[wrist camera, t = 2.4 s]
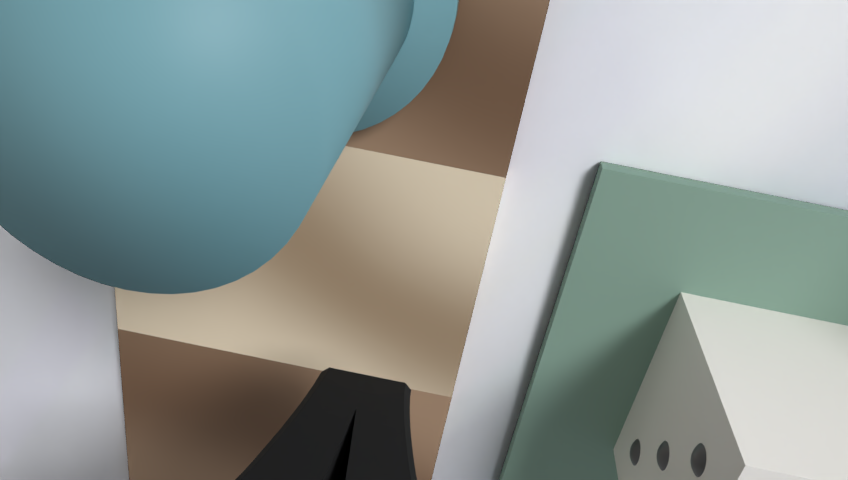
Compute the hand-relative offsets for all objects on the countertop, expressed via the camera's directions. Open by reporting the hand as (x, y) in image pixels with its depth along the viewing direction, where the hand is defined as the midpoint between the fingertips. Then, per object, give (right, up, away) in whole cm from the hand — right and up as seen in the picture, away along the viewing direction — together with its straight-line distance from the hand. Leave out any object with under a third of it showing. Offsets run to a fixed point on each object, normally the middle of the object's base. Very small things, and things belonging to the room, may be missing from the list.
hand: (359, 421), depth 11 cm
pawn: (-1, +7, -1) cm, 7 cm away
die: (+7, 0, +2) cm, 8 cm away
